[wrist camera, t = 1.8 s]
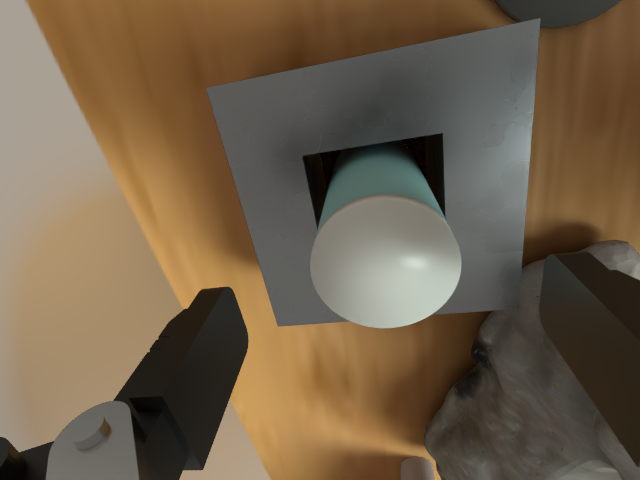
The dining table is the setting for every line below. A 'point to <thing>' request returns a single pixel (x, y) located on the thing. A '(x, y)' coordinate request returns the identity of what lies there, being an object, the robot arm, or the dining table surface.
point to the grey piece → (417, 469)
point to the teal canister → (383, 240)
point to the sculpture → (527, 400)
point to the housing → (384, 126)
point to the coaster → (555, 10)
